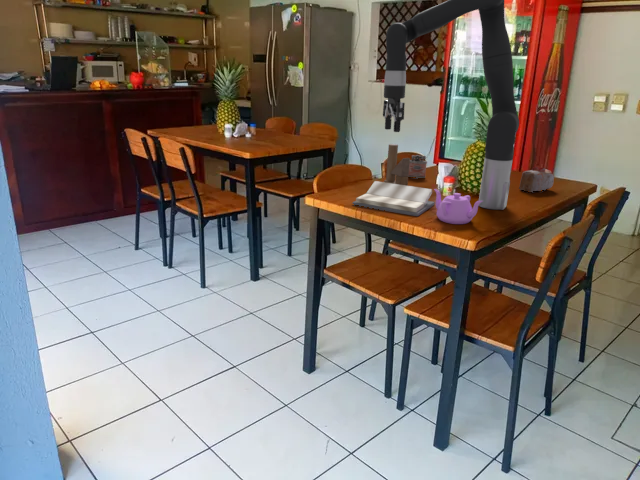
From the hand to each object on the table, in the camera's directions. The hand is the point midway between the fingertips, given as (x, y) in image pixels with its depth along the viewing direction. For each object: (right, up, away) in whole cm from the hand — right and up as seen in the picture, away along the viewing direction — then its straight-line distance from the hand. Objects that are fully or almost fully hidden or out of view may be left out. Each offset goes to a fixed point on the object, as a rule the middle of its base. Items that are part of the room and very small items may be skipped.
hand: (392, 130), depth 183 cm
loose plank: (+2, -24, -3) cm, 24 cm away
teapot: (+17, -34, -21) cm, 43 cm away
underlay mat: (0, -28, -5) cm, 28 cm away
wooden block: (+3, -21, +13) cm, 25 cm away
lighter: (+17, -12, +40) cm, 45 cm away
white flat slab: (-2, -29, -9) cm, 30 cm away
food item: (+63, -20, +24) cm, 70 cm away
